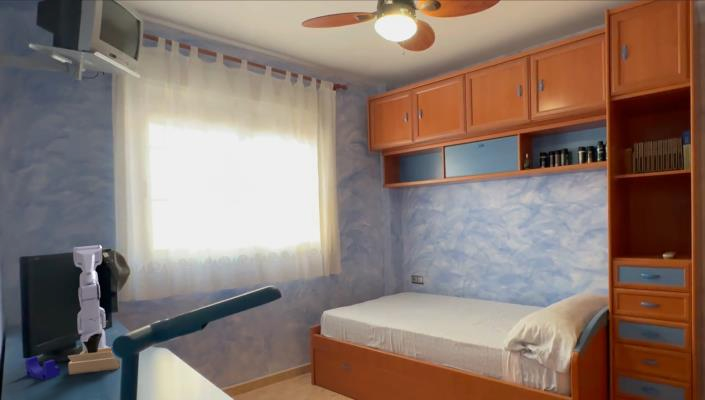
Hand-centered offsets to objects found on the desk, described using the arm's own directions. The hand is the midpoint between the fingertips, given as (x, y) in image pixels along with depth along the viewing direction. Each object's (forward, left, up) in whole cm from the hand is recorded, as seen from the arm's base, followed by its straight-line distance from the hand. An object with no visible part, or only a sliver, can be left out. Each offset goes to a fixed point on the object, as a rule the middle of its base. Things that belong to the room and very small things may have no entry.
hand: (93, 355), depth 154 cm
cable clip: (-4, -18, -6) cm, 19 cm away
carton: (-8, 0, -6) cm, 10 cm away
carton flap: (+1, 0, 0) cm, 1 cm away
